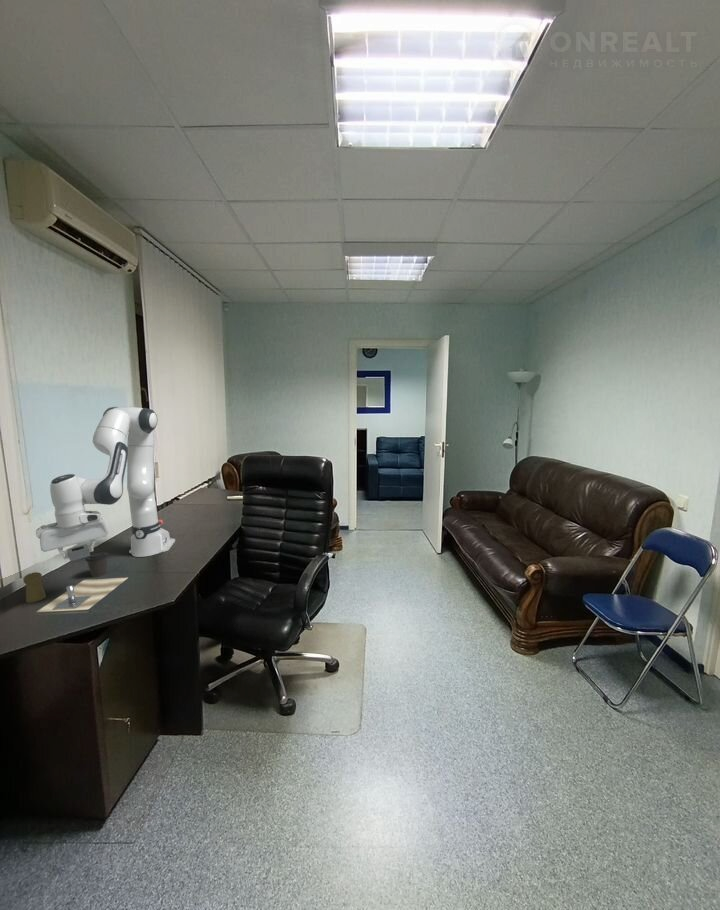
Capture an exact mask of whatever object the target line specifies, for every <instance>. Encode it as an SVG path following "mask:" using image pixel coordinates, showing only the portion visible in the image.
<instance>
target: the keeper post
mask: <svg viewBox="0 0 720 910" xmlns="http://www.w3.org/2000/svg"><path fill="white" fill-rule="evenodd" d="M65 588H66V589H65V590H66V592H67V595H68V598H67V599H66V600H64V601H63V602H61V603H60V604H59V605H57V606H56V607H54V608H53V610H60V609H76V608H77V607H79V606H80V605H81V604H83V603H84V602H85V601H87V600H88V599H89V598H90V597H91V596H80V597H75V593H74V585H73V584H71V585H68V586H66V587H65Z"/></svg>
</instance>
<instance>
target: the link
mask: <svg viewBox="0 0 720 910" xmlns="http://www.w3.org/2000/svg"><path fill="white" fill-rule="evenodd" d="M88 547H89V546H88V544H87V543H86V544H82V545H78V546H76V547H71V548H67V549H66V551H67V552H68V555H69V558H68V559H69V561H70V562H72V561H73V562H74V561H76V560H81V559H84V558H86V557H88V556H90V555H91V552H90V551H89V548H88ZM67 552H66V553H67Z"/></svg>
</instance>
